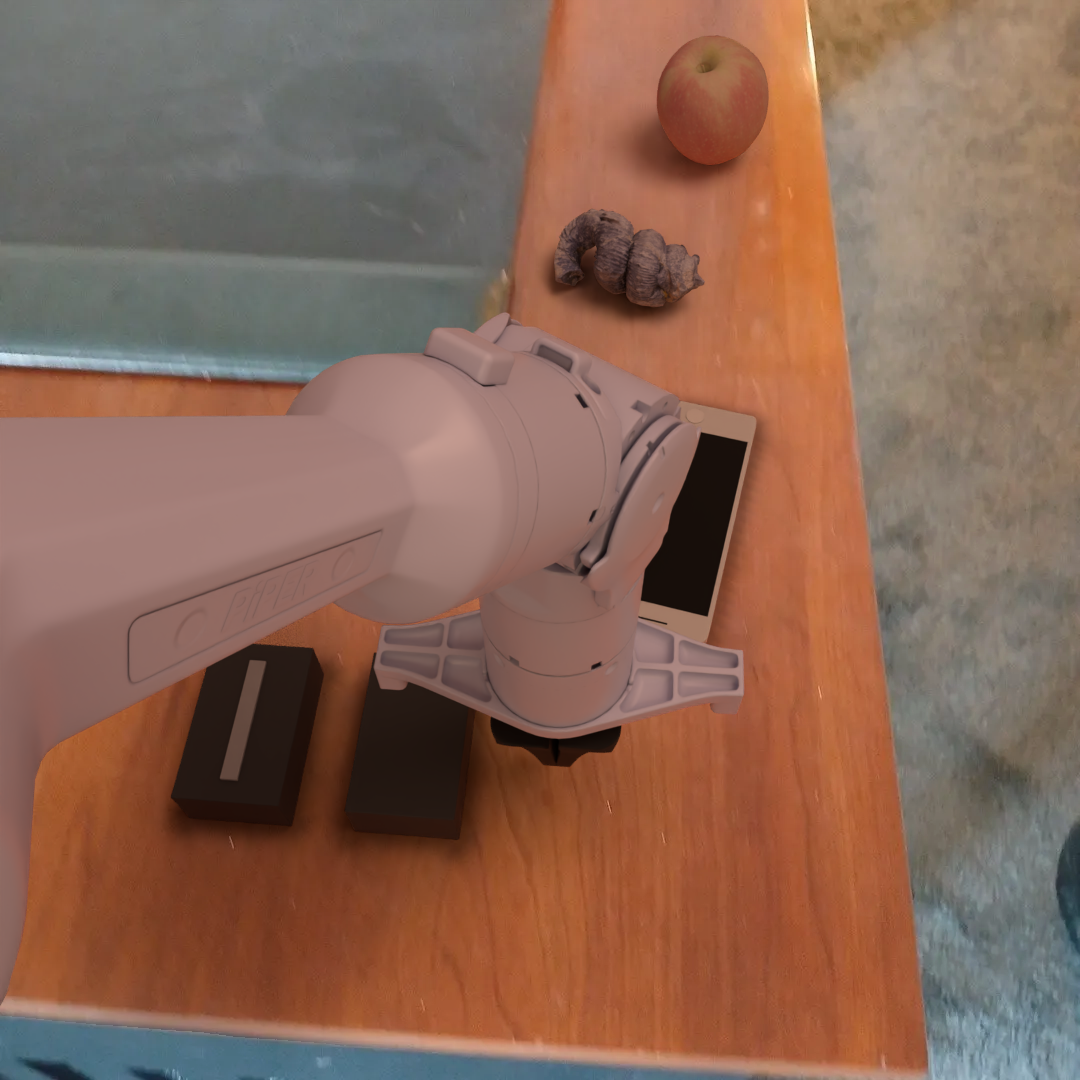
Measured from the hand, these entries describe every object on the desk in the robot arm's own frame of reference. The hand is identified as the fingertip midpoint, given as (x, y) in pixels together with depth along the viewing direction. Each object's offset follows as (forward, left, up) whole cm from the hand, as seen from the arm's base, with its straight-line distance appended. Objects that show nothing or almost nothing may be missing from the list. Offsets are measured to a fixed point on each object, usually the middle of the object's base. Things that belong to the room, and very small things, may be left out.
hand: (558, 745), depth 49 cm
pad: (0, +7, -3) cm, 7 cm away
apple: (+47, -7, -3) cm, 48 cm away
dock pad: (0, +15, -3) cm, 15 cm away
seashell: (+33, -2, -3) cm, 33 cm away
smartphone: (+15, -5, -3) cm, 16 cm away
